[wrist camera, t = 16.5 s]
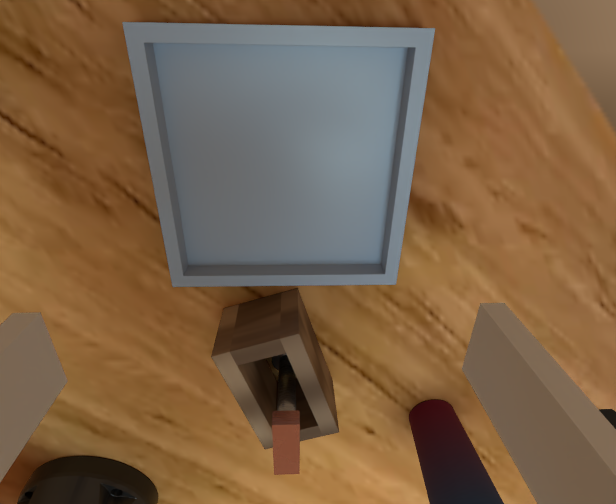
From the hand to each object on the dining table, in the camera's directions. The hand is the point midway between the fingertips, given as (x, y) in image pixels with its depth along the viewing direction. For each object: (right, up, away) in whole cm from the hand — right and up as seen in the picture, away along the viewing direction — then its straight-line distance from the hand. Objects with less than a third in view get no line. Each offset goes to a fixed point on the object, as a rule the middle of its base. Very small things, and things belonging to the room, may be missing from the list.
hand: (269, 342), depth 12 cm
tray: (-1, +9, +16) cm, 19 cm away
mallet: (-1, -8, +25) cm, 26 cm away
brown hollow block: (-1, -6, +24) cm, 25 cm away
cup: (+15, -15, +30) cm, 37 cm away
